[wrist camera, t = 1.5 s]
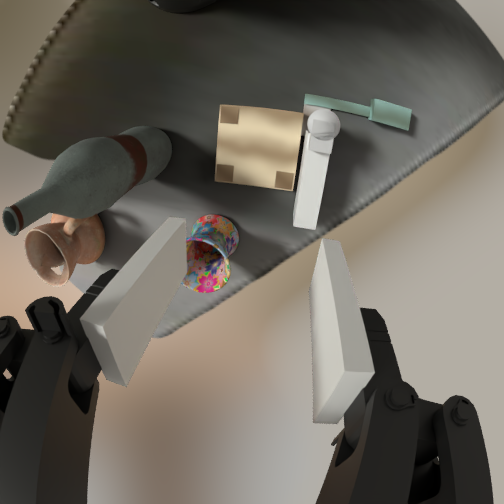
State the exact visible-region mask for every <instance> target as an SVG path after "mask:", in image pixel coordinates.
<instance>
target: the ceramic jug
mask: <svg viewBox="0 0 504 504" xmlns="http://www.w3.org/2000/svg"><path fill="white" fill-rule="evenodd" d="M104 246H105V232H104V228H103V225H102V222H101V220H100V218H99V216H98V215H97V214H95V215H93V216H91V217H87V218H83V219H74V218H70V217H66V216H62V215H58V214H54V213H53V215H52V219H51V223H49V224H44V225H41V226H38V227H35V228H33V229H31V230H30V231H29V232H28V233H27V234H26V236H25V240H24V247H25V253H26V256H27V259H28V262H29V264H30V265H31V267H32V269H33V270H36V272H37V275H38V277H40V279H42V280H43V281H44V282H46V283H47V284H49V285H51V286H55V287H60V286H63V285H65V284H66V283H67V281H68V280H69V278H70V277H71V275H72V273H73V271H74V268H75V266H76V263H78V264H90V263H92V262H94V261H96V260H97V259H98V258H99V257H100V255H101V254H102V252H103V249H104ZM63 264H64V269H63V271H62V275H57V274H56V273H54V271H53V270H51V267H58V266H60V265H63Z"/></svg>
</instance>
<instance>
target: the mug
mask: <svg viewBox="0 0 504 504" xmlns="http://www.w3.org/2000/svg"><path fill="white" fill-rule="evenodd" d="M238 243H239V235H238V232H237V229H236V227H235V226H234V225H233V223H232V222H231V221H229V220H228V219H227V218H225V217H223V216H220V215H213V214H212V215H206V216H203V217H201V218H200V219H198V220H197V221H196V222H195V224H194V225H193V228H192V232H191V237H190V238H186V252H187V274H186V275H185V277H184V279H183V281H182V282H181V284H182V285H184V286H185V287H187V288H189V289H191V290H193V291H197V292H203V293H208V292H214V291H217V290H219V289H220V288H222V287H223V286H224V285H225V284H226V283H227V281H228V280H229V277H230V273H231V266H230V261H229V259H228V256H230V255H231V254H233V253H234V252H235V250H236V249H237V247H238Z"/></svg>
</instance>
